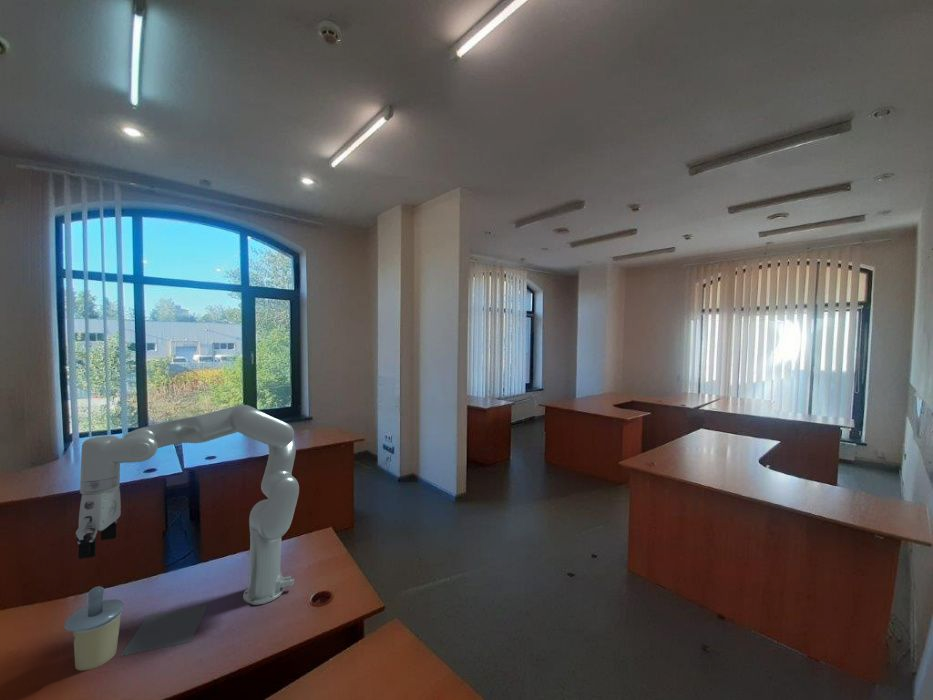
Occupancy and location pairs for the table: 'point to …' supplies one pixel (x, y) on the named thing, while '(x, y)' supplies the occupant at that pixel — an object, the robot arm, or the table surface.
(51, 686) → the table surface
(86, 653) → the coffee cup
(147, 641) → the mat
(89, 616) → the lid
